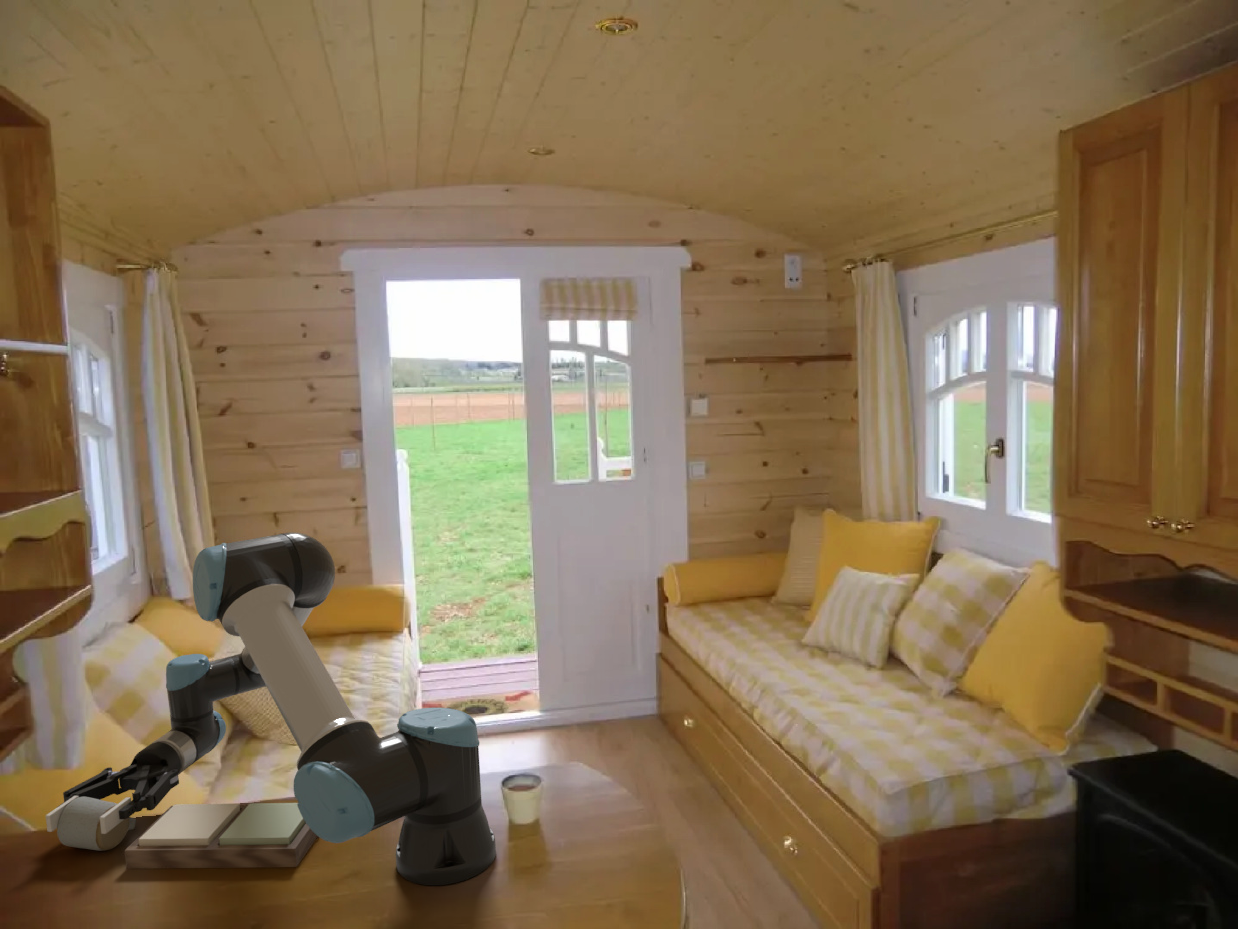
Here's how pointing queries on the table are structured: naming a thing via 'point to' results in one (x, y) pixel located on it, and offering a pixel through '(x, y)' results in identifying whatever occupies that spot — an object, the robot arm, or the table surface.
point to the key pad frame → (220, 853)
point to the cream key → (190, 825)
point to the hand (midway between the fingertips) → (75, 824)
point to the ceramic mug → (90, 825)
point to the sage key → (265, 825)
